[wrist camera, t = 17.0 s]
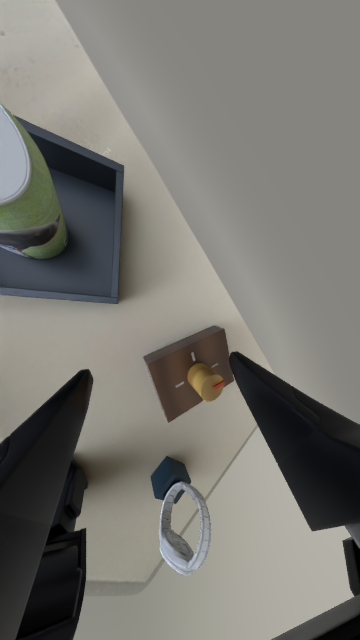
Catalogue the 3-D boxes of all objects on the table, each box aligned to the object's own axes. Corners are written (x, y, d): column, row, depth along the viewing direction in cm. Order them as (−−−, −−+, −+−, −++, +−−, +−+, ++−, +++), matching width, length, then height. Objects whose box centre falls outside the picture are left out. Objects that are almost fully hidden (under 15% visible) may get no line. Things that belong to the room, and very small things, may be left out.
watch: (143, 486, 26) (160, 601, 16) (172, 447, 28) (205, 531, 18) (163, 493, 29) (189, 597, 19) (190, 456, 30) (227, 535, 20)
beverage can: (-6, 185, 13) (-486, -260, 3) (86, 217, 17) (36, 71, 6) (-8, 254, 14) (-411, 116, 3) (81, 272, 17) (27, 233, 6)
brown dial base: (162, 409, 26) (168, 423, 23) (143, 356, 23) (147, 365, 20) (223, 373, 30) (234, 381, 28) (213, 325, 28) (225, 328, 25)
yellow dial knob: (190, 389, 24) (205, 408, 20) (184, 369, 23) (198, 384, 19) (210, 378, 25) (227, 393, 21) (205, 358, 24) (222, 370, 20)
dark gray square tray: (117, 302, 20) (117, 304, 16) (-38, 289, 14) (-94, 287, 10) (122, 193, 18) (124, 165, 14) (-51, 127, 12) (-125, 51, 9)
